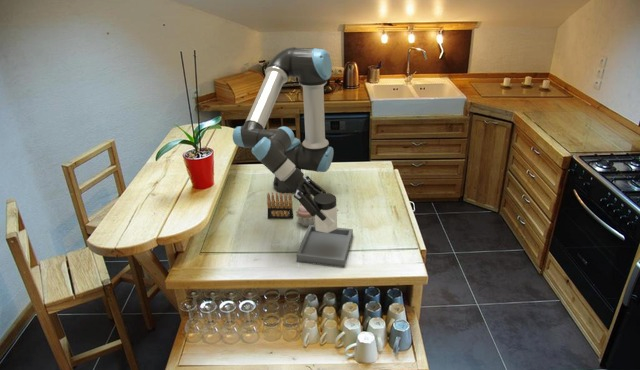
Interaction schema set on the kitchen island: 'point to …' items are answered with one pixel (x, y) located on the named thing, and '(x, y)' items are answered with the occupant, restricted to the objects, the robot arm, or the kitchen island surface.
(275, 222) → the kitchen island surface
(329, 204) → the jar
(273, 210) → the ammunition clip
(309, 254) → the tray
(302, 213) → the cupcake
